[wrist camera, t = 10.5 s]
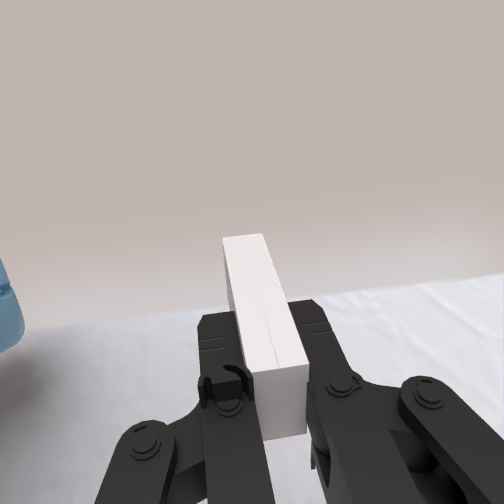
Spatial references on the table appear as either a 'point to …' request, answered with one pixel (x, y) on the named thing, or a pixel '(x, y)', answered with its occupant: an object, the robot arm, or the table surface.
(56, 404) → the table surface
